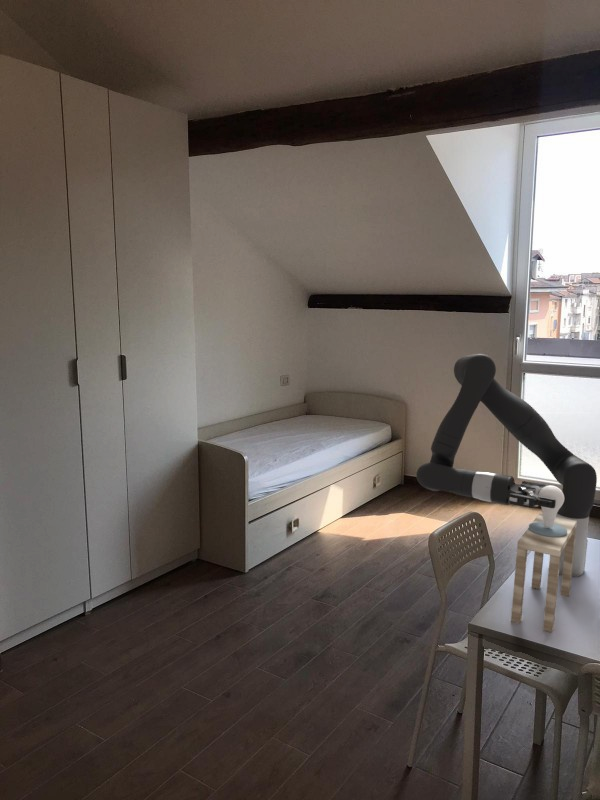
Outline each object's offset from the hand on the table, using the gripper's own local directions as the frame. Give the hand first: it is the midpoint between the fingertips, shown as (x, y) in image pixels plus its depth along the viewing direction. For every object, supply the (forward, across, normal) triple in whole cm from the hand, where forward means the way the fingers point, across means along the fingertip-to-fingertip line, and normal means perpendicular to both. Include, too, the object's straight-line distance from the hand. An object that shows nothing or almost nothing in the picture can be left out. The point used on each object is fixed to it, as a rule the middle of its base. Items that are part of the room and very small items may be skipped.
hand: (558, 499), depth 160 cm
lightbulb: (-2, 0, +8) cm, 8 cm away
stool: (-2, 0, +29) cm, 29 cm away
